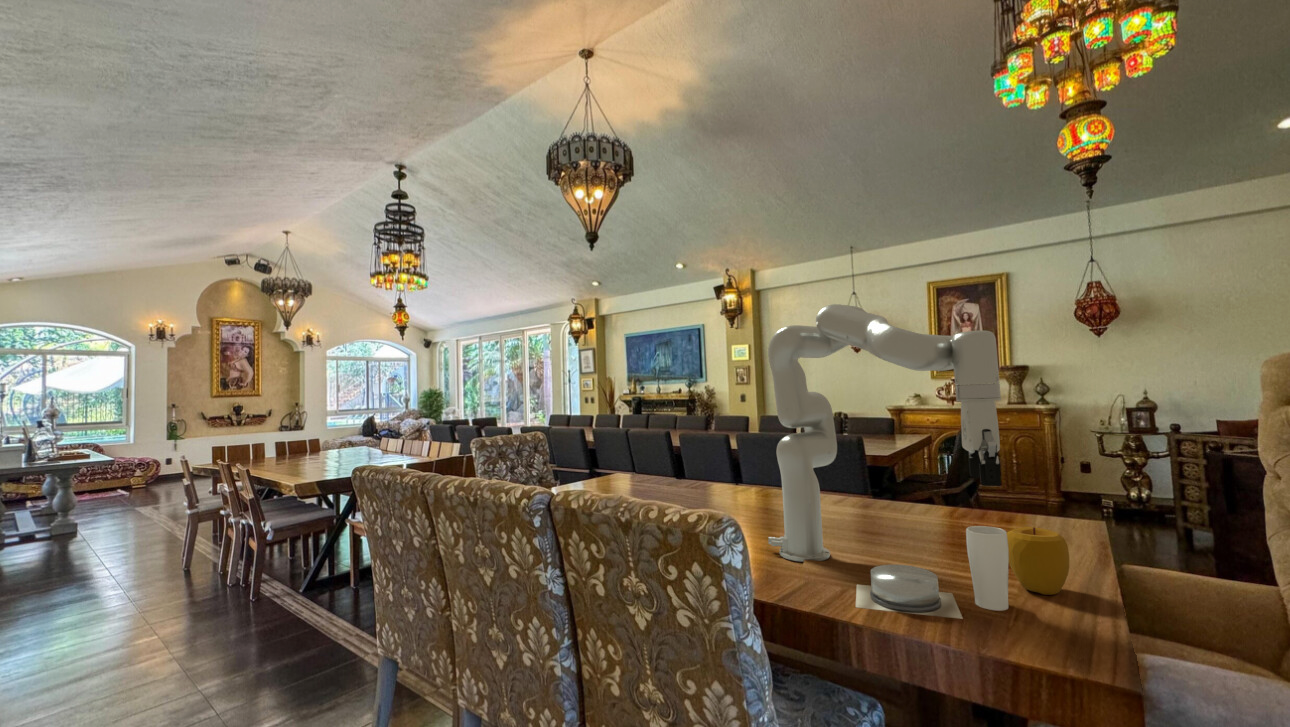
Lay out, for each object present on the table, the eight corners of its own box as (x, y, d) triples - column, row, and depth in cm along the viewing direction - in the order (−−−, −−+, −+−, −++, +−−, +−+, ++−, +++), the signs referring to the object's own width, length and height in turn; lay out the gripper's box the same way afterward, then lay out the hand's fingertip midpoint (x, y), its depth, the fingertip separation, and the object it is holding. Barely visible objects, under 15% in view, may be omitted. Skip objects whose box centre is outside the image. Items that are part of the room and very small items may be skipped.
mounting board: (855, 612, 103) (855, 607, 103) (856, 589, 115) (856, 584, 115) (963, 624, 97) (962, 618, 97) (952, 598, 109) (952, 593, 109)
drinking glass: (1014, 620, 98) (1008, 536, 98) (970, 613, 101) (965, 532, 102) (1012, 606, 103) (1006, 527, 104) (971, 600, 107) (965, 524, 108)
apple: (1003, 578, 118) (999, 519, 119) (1064, 584, 114) (1059, 522, 114) (1013, 596, 108) (1008, 531, 109) (1079, 603, 104) (1074, 535, 105)
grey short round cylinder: (870, 608, 103) (869, 581, 103) (870, 585, 114) (868, 561, 115) (945, 616, 98) (943, 588, 98) (937, 591, 110) (935, 566, 110)
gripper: (948, 394, 115) (955, 474, 114) (964, 394, 99) (972, 488, 98) (989, 392, 113) (996, 475, 112) (1012, 393, 97) (1020, 489, 95)
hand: (985, 481), depth 105 cm, fingers open, 9 cm apart
